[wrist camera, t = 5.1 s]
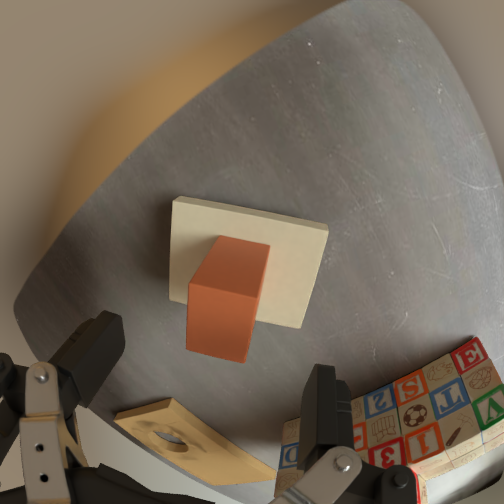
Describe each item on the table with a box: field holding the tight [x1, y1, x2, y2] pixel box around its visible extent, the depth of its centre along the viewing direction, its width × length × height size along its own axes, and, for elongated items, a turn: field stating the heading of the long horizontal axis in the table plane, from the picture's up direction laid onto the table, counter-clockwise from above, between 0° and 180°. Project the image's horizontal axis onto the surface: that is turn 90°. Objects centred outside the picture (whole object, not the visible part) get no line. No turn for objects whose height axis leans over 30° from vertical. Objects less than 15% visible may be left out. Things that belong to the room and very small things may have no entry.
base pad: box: [114, 398, 276, 485], centre depth 33 cm, size 20×12×2 cm, turn 38°
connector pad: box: [169, 196, 329, 363], centre depth 17 cm, size 9×7×8 cm
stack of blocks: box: [274, 337, 504, 504], centre depth 20 cm, size 21×6×12 cm, turn 128°
